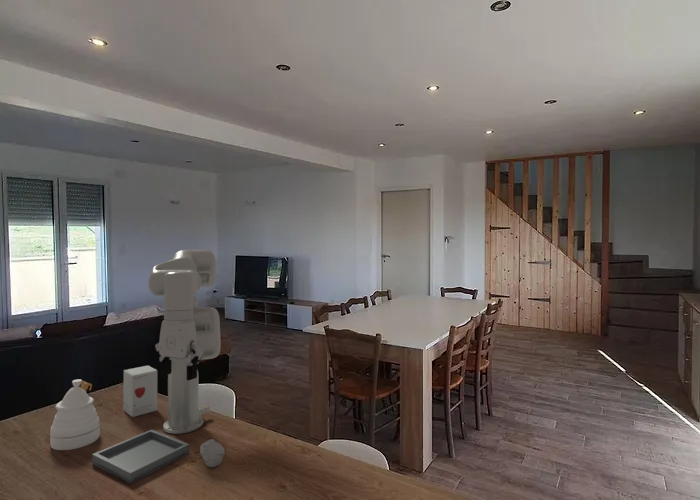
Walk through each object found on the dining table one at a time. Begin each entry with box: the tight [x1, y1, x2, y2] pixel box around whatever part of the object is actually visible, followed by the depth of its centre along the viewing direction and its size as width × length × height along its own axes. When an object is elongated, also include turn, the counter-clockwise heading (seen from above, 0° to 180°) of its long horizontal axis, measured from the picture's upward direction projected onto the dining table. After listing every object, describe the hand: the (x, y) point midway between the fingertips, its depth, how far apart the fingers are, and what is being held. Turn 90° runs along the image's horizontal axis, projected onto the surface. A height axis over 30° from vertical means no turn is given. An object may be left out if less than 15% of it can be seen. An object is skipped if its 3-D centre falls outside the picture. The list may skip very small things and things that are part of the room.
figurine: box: [80, 380, 93, 393], centre depth 150 cm, size 8×6×12 cm
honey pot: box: [49, 378, 101, 451], centre depth 131 cm, size 13×13×18 cm
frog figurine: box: [199, 438, 226, 468], centre depth 117 cm, size 6×7×7 cm
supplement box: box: [122, 365, 158, 418], centre depth 154 cm, size 9×9×15 cm
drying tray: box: [91, 429, 190, 485], centre depth 120 cm, size 18×18×3 cm
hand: (178, 376), depth 118 cm, fingers open, 9 cm apart
